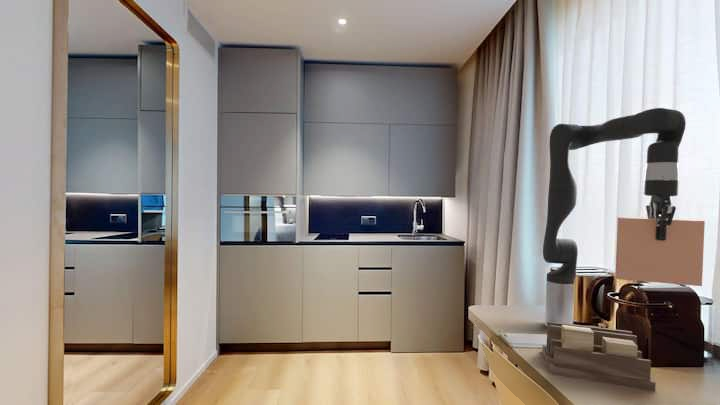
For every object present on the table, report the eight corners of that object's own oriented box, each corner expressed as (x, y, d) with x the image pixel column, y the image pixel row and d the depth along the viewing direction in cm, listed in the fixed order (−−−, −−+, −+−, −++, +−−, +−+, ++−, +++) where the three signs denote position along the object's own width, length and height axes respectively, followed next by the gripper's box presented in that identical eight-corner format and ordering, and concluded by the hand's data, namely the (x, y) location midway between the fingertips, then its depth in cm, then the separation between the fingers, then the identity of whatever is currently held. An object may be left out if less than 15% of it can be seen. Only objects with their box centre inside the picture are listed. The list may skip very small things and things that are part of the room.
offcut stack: (560, 359, 108) (562, 324, 108) (630, 370, 102) (632, 333, 102) (563, 365, 104) (564, 329, 104) (636, 376, 99) (637, 338, 98)
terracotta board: (615, 277, 113) (617, 217, 112) (698, 284, 106) (700, 220, 106) (617, 279, 111) (619, 217, 110) (701, 286, 104) (704, 220, 104)
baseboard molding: (611, 354, 120) (588, 340, 132) (611, 345, 119) (588, 331, 131) (512, 351, 120) (498, 337, 132) (513, 341, 120) (499, 328, 132)
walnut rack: (542, 351, 118) (543, 319, 118) (632, 364, 111) (633, 330, 111) (550, 373, 103) (551, 337, 103) (655, 390, 96) (656, 351, 95)
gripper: (636, 180, 116) (634, 236, 116) (655, 177, 103) (653, 241, 103) (666, 180, 113) (663, 238, 114) (689, 178, 100) (686, 243, 100)
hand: (658, 239), depth 108 cm, fingers closed on terracotta board, 2 cm apart
